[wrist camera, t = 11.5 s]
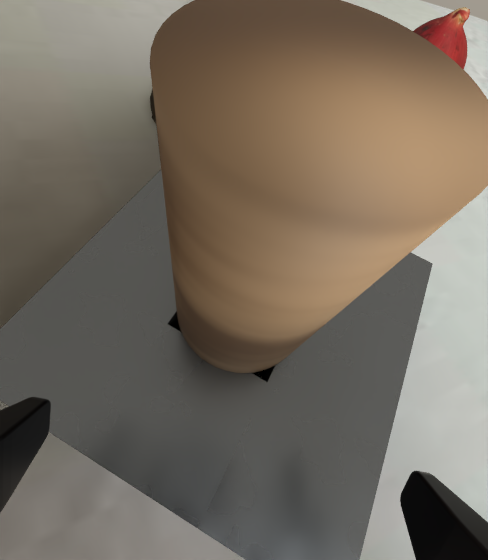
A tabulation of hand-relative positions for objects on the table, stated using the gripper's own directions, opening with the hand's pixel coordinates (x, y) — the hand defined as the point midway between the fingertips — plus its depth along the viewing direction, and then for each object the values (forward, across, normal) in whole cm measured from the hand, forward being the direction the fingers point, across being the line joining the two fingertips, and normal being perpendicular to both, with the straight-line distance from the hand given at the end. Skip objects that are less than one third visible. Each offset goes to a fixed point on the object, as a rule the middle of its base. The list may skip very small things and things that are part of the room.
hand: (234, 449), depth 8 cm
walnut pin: (+9, 0, +1) cm, 9 cm away
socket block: (+10, 0, +1) cm, 10 cm away
